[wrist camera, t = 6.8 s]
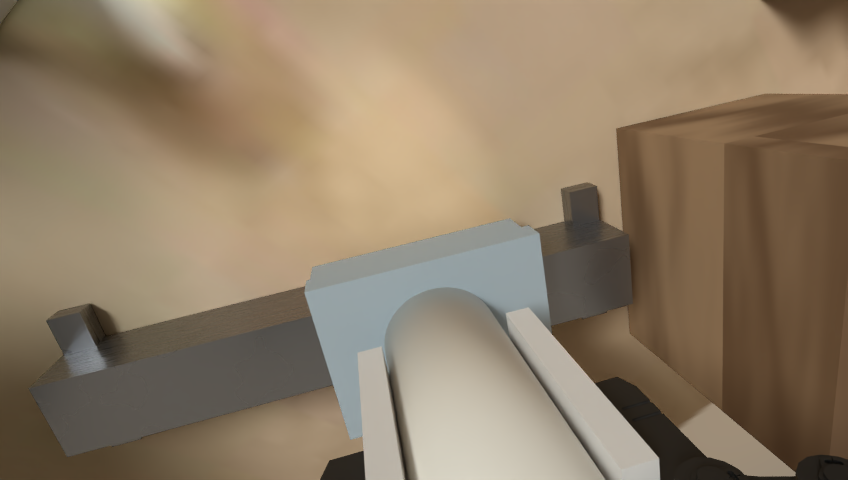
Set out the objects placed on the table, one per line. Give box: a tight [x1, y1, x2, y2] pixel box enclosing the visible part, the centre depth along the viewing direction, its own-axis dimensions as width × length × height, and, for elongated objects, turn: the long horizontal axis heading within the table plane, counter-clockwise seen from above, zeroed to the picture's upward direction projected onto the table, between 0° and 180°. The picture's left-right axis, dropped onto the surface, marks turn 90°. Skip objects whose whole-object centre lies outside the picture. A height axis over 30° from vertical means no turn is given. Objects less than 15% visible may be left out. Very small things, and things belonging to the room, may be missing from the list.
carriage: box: [304, 219, 605, 480], centre depth 13 cm, size 8×6×13 cm
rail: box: [28, 183, 633, 457], centre depth 19 cm, size 22×6×3 cm, turn 102°
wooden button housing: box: [616, 94, 848, 472], centre depth 17 cm, size 7×10×10 cm
